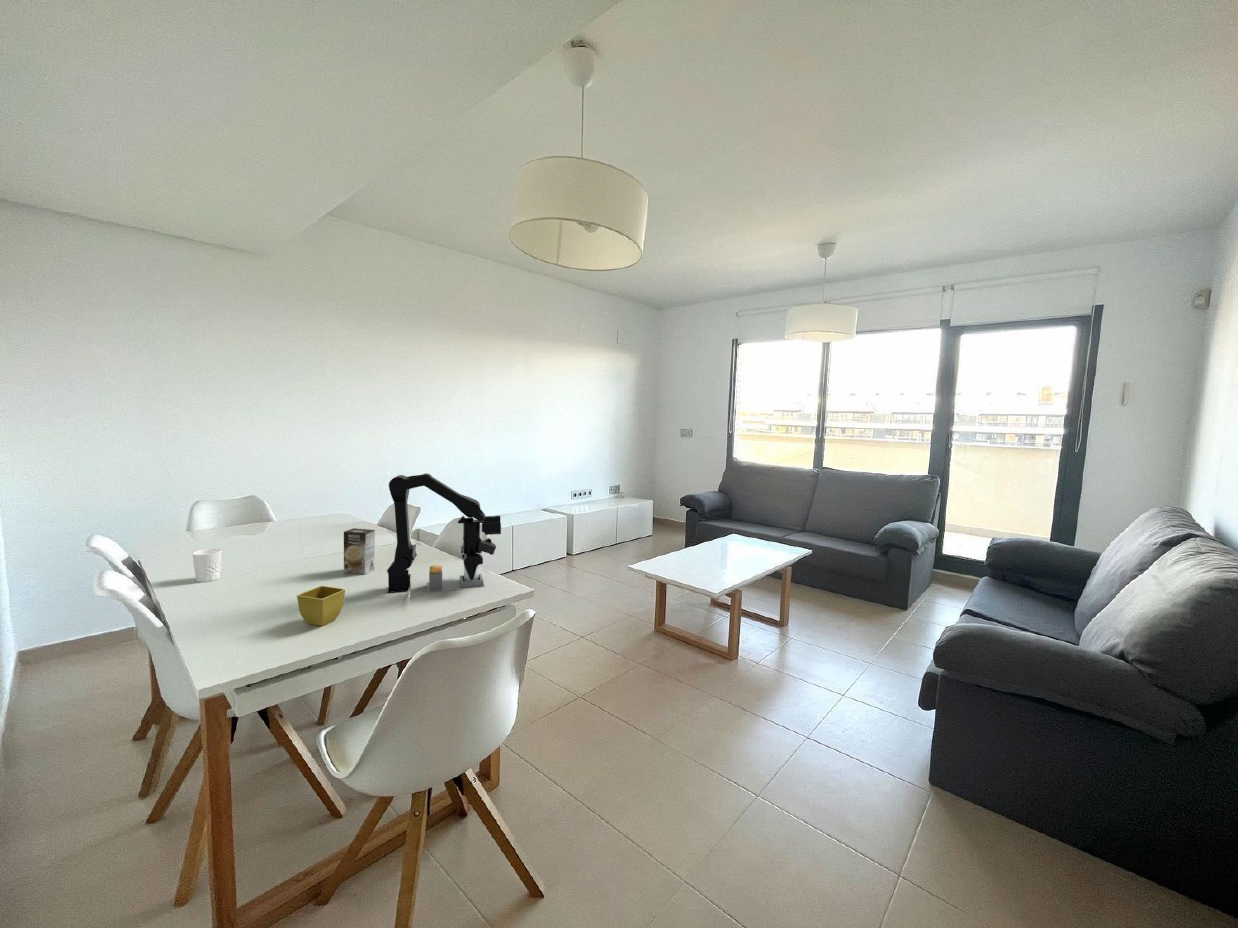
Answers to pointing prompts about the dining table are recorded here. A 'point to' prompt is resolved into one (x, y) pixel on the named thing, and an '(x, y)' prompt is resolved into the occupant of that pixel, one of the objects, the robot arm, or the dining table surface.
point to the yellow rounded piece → (435, 569)
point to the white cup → (207, 564)
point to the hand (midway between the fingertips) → (471, 577)
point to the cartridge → (466, 576)
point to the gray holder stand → (451, 583)
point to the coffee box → (359, 551)
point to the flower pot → (321, 604)
